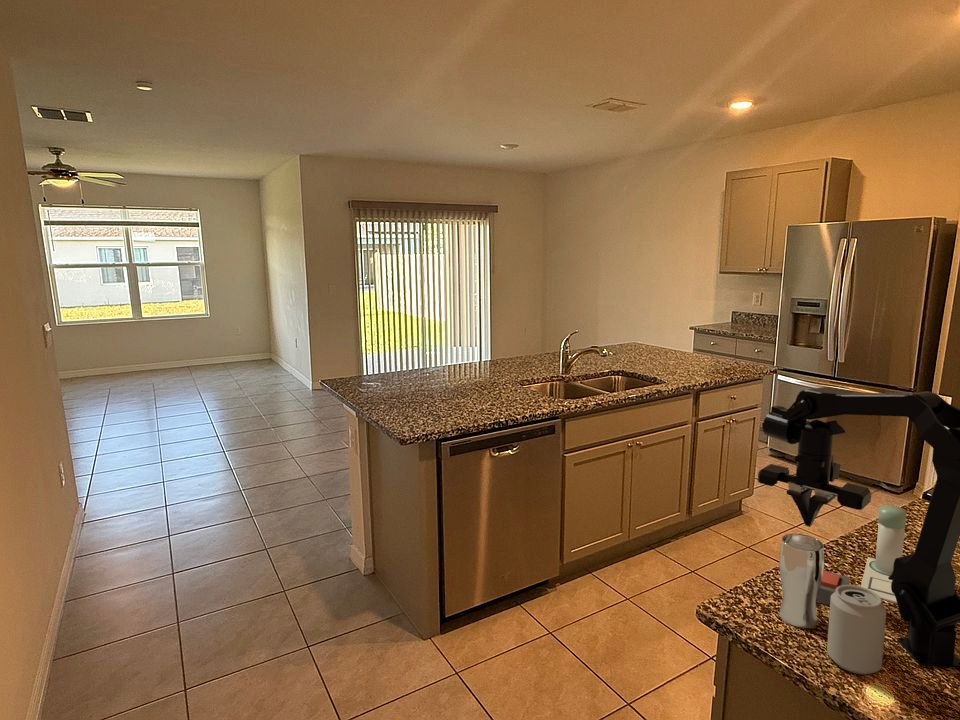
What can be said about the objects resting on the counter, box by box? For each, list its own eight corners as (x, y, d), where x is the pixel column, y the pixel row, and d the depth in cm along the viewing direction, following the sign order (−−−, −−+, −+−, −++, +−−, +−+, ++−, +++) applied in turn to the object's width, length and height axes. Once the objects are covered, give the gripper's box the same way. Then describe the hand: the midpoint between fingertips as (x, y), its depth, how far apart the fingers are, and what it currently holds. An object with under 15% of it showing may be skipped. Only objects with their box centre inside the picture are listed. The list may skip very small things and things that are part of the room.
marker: (899, 576, 116) (905, 516, 114) (872, 568, 119) (877, 510, 117) (902, 567, 119) (908, 509, 117) (876, 560, 122) (881, 503, 120)
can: (864, 647, 95) (869, 581, 94) (891, 679, 88) (898, 608, 86) (817, 646, 96) (822, 580, 94) (841, 677, 89) (846, 607, 87)
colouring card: (907, 606, 106) (907, 604, 106) (859, 593, 111) (859, 591, 111) (911, 568, 119) (911, 567, 119) (867, 558, 124) (867, 556, 124)
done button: (835, 599, 108) (836, 585, 108) (809, 592, 111) (810, 578, 110) (838, 589, 111) (839, 575, 111) (813, 582, 114) (814, 568, 114)
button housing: (844, 609, 106) (845, 595, 105) (798, 596, 111) (799, 582, 110) (849, 591, 112) (850, 577, 111) (805, 579, 116) (806, 565, 116)
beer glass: (797, 633, 100) (802, 553, 97) (768, 611, 106) (771, 536, 104) (829, 625, 102) (834, 547, 99) (798, 604, 108) (802, 530, 106)
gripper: (884, 452, 108) (876, 528, 111) (781, 432, 122) (777, 499, 125) (864, 467, 101) (856, 548, 104) (758, 443, 115) (754, 515, 118)
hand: (808, 525), depth 113 cm, fingers closed
